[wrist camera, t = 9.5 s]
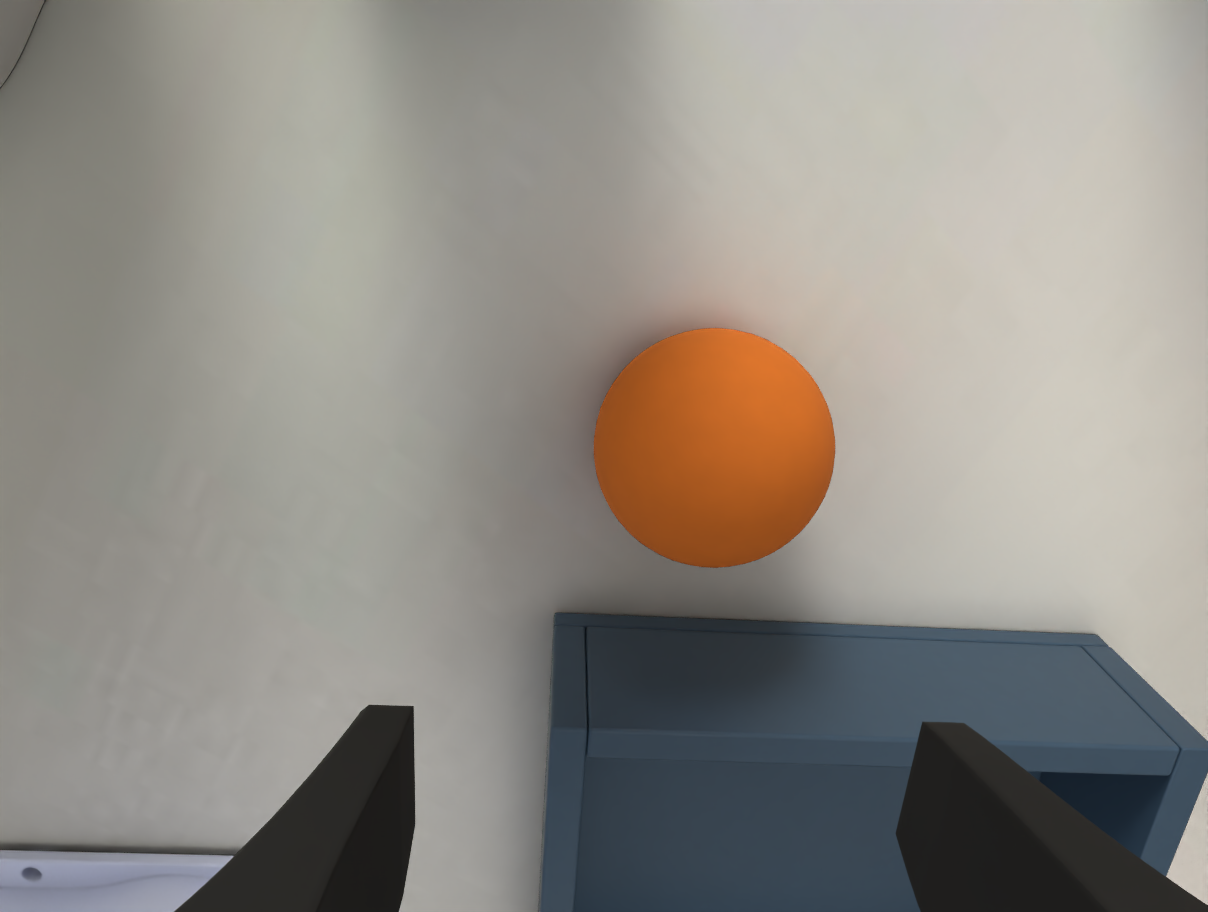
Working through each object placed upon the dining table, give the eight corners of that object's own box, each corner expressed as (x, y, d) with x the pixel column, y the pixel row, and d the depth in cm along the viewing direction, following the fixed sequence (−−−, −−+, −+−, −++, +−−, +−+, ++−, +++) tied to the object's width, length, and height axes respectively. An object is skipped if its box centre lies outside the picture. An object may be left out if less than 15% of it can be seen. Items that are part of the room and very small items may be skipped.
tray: (533, 1006, 27) (525, 1170, 23) (554, 611, 22) (549, 727, 18) (976, 1013, 28) (1048, 1172, 24) (1097, 633, 23) (1218, 749, 19)
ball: (572, 502, 21) (606, 619, 16) (585, 298, 19) (627, 368, 14) (768, 500, 22) (850, 611, 17) (799, 306, 20) (903, 373, 15)
